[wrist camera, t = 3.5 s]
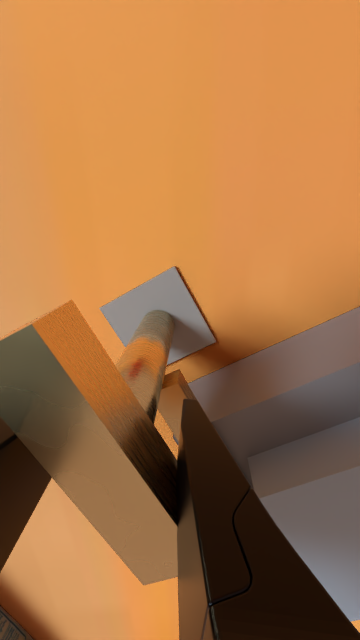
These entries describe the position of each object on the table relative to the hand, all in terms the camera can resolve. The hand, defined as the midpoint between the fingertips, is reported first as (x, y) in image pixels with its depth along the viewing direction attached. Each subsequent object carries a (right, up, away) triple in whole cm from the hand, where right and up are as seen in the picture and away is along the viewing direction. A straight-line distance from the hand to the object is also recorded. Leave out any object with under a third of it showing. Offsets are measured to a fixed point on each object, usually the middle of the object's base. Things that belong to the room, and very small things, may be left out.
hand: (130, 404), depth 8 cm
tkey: (+2, 0, +7) cm, 7 cm away
